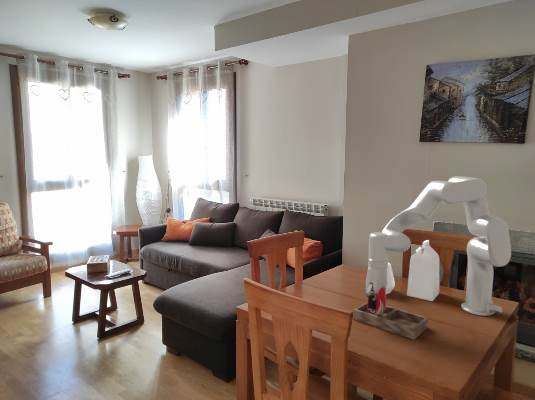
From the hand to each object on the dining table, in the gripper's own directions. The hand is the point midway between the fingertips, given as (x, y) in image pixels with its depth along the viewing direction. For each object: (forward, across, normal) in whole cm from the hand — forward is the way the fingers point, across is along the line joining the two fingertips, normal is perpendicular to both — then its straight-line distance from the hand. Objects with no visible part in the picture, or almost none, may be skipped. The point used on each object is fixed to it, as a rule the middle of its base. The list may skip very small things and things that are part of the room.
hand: (376, 305), depth 154 cm
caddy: (+6, 0, +6) cm, 8 cm away
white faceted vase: (+6, -30, -13) cm, 33 cm away
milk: (+6, -40, +4) cm, 40 cm away
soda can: (+3, 0, 0) cm, 3 cm away
